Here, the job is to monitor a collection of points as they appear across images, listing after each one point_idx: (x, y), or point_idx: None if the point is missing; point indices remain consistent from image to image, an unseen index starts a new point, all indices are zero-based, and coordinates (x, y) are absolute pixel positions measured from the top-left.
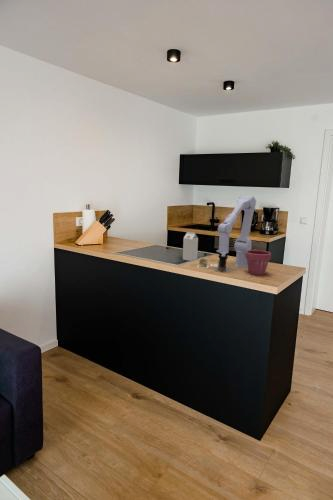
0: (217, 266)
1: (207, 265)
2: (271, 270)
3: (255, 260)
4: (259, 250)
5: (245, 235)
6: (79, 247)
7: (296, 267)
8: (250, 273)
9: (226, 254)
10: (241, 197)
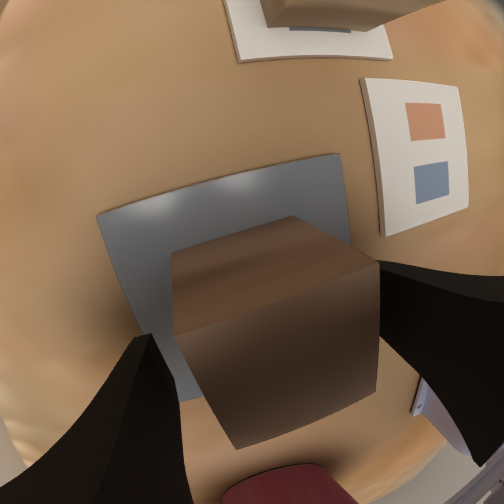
0: (390, 178)
1: (380, 41)
2: (364, 479)
3: None
4: None
5: None
6: None
7: (416, 474)
8: (234, 486)
9: (476, 439)
10: None
